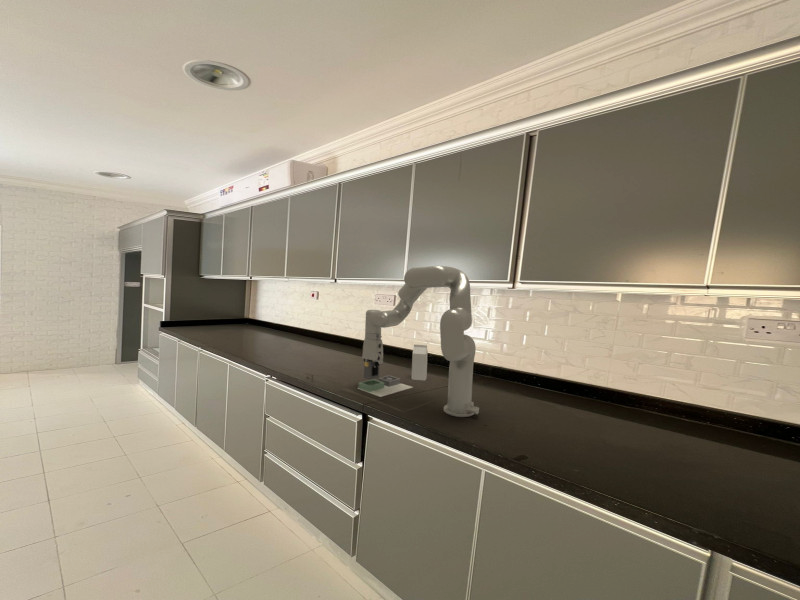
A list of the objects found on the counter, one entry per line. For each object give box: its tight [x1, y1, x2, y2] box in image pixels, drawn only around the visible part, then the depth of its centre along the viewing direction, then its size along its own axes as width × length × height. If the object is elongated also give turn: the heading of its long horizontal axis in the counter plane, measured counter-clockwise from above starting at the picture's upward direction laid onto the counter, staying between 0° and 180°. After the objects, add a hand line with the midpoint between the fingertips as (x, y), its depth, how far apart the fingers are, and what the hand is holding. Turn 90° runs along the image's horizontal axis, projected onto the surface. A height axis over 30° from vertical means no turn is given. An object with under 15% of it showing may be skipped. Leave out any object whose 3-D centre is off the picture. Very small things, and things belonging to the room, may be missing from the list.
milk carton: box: [411, 344, 429, 382], centre depth 186 cm, size 7×7×19 cm
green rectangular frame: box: [358, 378, 384, 393], centre depth 166 cm, size 8×10×3 cm
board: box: [357, 374, 413, 398], centre depth 167 cm, size 16×22×4 cm
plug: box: [363, 360, 380, 380], centre depth 166 cm, size 4×7×8 cm, turn 137°
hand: (371, 373), depth 166 cm, fingers closed on plug, 4 cm apart
